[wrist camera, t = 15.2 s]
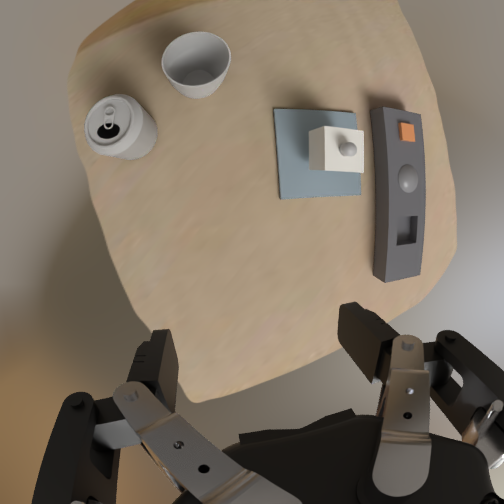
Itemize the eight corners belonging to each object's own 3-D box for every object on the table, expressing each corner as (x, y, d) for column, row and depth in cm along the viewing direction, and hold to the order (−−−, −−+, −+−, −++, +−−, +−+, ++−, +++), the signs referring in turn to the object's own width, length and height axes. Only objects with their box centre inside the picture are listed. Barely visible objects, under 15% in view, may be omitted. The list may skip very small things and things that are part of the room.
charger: (304, 132, 38) (329, 124, 29) (338, 135, 39) (369, 129, 30) (304, 169, 40) (329, 170, 31) (338, 171, 41) (369, 173, 32)
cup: (234, 74, 35) (243, 46, 25) (208, 116, 36) (209, 97, 27) (188, 54, 33) (184, 23, 23) (161, 96, 34) (148, 73, 25)
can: (109, 160, 35) (74, 155, 24) (115, 113, 33) (84, 92, 22) (155, 160, 37) (135, 154, 25) (161, 112, 35) (144, 88, 23)
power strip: (370, 110, 39) (385, 105, 35) (407, 117, 40) (423, 113, 36) (373, 275, 48) (387, 284, 43) (407, 268, 49) (422, 276, 44)
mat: (273, 109, 37) (274, 108, 37) (353, 113, 39) (355, 113, 38) (280, 199, 41) (281, 199, 40) (359, 194, 43) (361, 195, 42)
